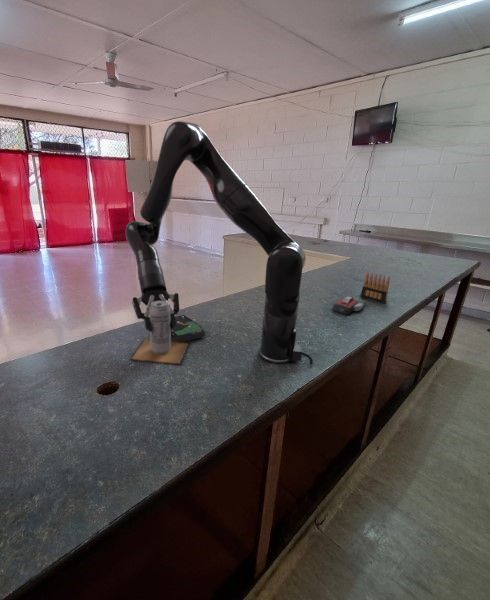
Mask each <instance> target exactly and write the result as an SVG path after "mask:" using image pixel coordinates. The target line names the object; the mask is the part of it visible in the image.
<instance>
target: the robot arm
mask: <svg viewBox="0 0 490 600" xmlns="http://www.w3.org/2000/svg"><path fill="white" fill-rule="evenodd" d="M185 161H189V162H190V163H191V164H192V165H193V166H194V167H195V168H196V169H197V170H198V171H199V172H200V173H201V174H202V176H203V177H204V178H205V180H206V182H207V184H208V186H209V190H210V192H211V194H212V197H213V200H214V202H215V203H216V205H217V206H218V207H219V209H220V210H221V211H222V213H223V214H224V215H225V216H226V217H227V218H228V220H230V221H231V223H233V224H234V225H235V226H236V227H238V228H239V229H240V230H241V231H243V232H244V233H246V234H247V235H248V236H250V237H251V238H252V239H253V240H255V241H256V242H257V244H258V245H259V246H260V247H261V248H262V249H263V251H264V252H265V254H266V255H267V256H268V257H267V258H266V259H267V260H266V266H265V276H264V277H265V278H264V293H265V294H264V295H265V299H264V306H263V307H264V308H263V317H262V318H263V320H262V330H261V338H260V348H259V356H260V357H261V358H262V359H263V360H265V361H267V362H268V363H273V364H285V363H292V362H293V361H299V362H301V361H302V356H304V357H306V358H307V359H308V360H309V364H310V365H313V364H314V361H313V358H312V356H311V355H309V354H308V353H306V352H303V351H302V346H301V344H298V343H297V344H296V337H297V329H296V326H297V320H298V319H297V318H298V312H299V304H300V297H301V295H300V290H301V282H302V275H303V268H304V267H305V264H306V254H305V251H304V249H303V248H302V247H301V245H299V244H298V242H296V241H295V240H294V239H292V237H291V236H290V235H289V234H288V233H287V232H285V231H284V230H283V228H282V227H280V225H279V224H278V223H277V222H276V221H275V219H274V218H273V216H272V215H271V214H270V213H269V211H268V210H267V208H266V207H265V205H264V204H263V203H262V201H260V199H259V198H258V197H257V195H256V194H255V192H253V190H252V189H251V188H250V187H249V186H248V184H247V183H246V182H245V181H244V180H243V179H242V178H241V177H240V176H239V175H238V173H237V172H236V171H235V170H234V169H233V167H232V166H230V164H229V163H228V162H227V161H226V160H225V159H224V158H223V156H222V155H221V153H220V152H219V151H218V150H217V148H216V146H215V145H214V144H213V142H212V141H211V139H210V137H209V136H208V134H207V133H206V132H205V130H204V129H203V128H202V127H201V126H200V125H198V124H196V123H194V122H188V121H181V120H180V121H179V120H178V121H174V122H172V123H170V124H169V126H168V127H167V128H166V130H165V132H164V135H163V138H162V142H161V147H160V151H159V154H158V158H157V162H156V166H155V170H154V174H153V177H152V181H151V184H150V187H149V189H148V191H147V193H146V195H145V198H144V201H143V203H142V205H141V207H140V210H139V214H140V217H141V218H142V219H143V220H144V221H146V222H142V221H137V220H132V221H129V222H128V223H127V225H126V227H125V233H124V234H125V238H126V241H127V243H128V245H129V247H130V249H131V251H132V254H133V255H134V256H135V262H136V266H137V279H138V281H139V287H140V292H141V296H140V297H136V296H134V297H133V298H132V300H131V304H132V307H133V310H134V312H135V316H136V318H137V320H140V319H141V320H143V321H144V327H145V330H146V331H148V333H150V332H151V331H152V326H151V321H150V317H149V308H150V306H151V303H152V302H154V301H166V302H168V301H169V299H170V301H171V302H172V303H173V308H172V307H171V304H170V303H169V302H168V305H169V307H170V316H171V329H172V328H174V326H175V325H176V321H175V317H176V316H175V315H178V314H179V311H180V309H181V308H180V297H179V293H178V292H175V293H174V294H173V293H169V292H168V290H167V285H166V281H165V276H164V271H163V268H162V265H161V262H160V258H159V252H158V250H157V248H156V247H155V246H153V245H155V244H156V243H157V242H158V241H159V238H160V233H161V232H160V231H161V226H162V222H163V218H164V216H165V214H166V212H167V209H168V207H169V206H170V203H171V199H172V194H173V185H174V180H175V178H176V175H177V172H178V170H179V169H180V168H181V166H182V165H183V163H184V162H185ZM147 222H148V223H147ZM141 302H142V303H143V305H145V306H146V308H145V311H144V312H143V311H142V309H141V307H140V305H141Z"/></svg>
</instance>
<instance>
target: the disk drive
mask: <svg viewBox="0 0 490 600" xmlns="http://www.w3.org/2000/svg"><path fill="white" fill-rule="evenodd" d="M175 321H176V325H175V326H174V328H172V329H171V339H173V340H174V342H181V343H183V342H186V341H190V340H194V339H198V338H203V337H205V335H206V330H205V329H204V328H203V326H201V325H199V324H198V323H197V322H195V321H194V320H193V319H192V318H189V316H187V315H185V314H181V315H176V316H175Z"/></svg>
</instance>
